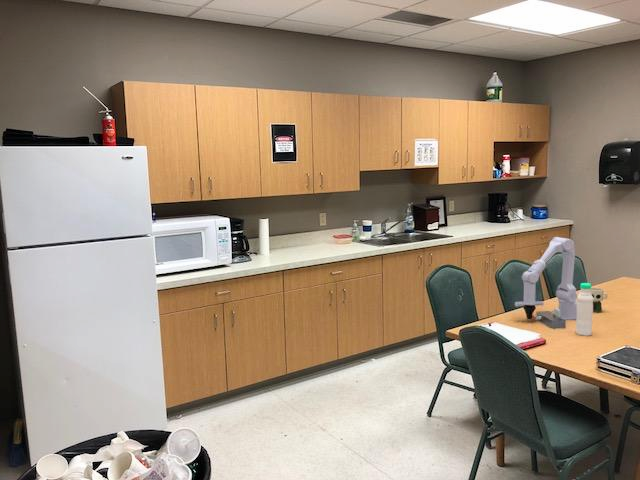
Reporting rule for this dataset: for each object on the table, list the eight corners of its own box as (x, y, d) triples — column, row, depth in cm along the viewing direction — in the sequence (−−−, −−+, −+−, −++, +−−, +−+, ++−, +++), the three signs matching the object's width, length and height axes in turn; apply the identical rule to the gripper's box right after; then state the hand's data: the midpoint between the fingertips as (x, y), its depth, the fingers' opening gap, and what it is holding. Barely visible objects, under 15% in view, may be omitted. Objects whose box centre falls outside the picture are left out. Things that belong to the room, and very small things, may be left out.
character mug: (583, 311, 290) (584, 289, 288) (585, 308, 296) (586, 286, 294) (605, 314, 284) (606, 291, 282) (607, 311, 289) (608, 288, 288)
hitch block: (549, 318, 279) (549, 309, 278) (565, 328, 261) (565, 318, 261) (536, 318, 279) (536, 309, 278) (551, 328, 261) (552, 318, 260)
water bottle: (585, 337, 247) (587, 285, 244) (572, 333, 253) (574, 283, 250) (595, 334, 250) (597, 284, 247) (581, 330, 256) (583, 281, 253)
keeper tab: (555, 314, 268) (555, 308, 267) (560, 317, 263) (560, 310, 263) (554, 314, 268) (554, 308, 267) (558, 317, 263) (558, 310, 263)
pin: (550, 319, 276) (550, 313, 275) (553, 321, 273) (553, 315, 272) (529, 320, 275) (529, 314, 275) (532, 322, 272) (532, 316, 272)
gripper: (518, 296, 268) (518, 321, 270) (546, 295, 268) (545, 320, 270) (513, 293, 275) (513, 317, 277) (540, 292, 275) (539, 317, 277)
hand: (528, 319), depth 274 cm, fingers closed
